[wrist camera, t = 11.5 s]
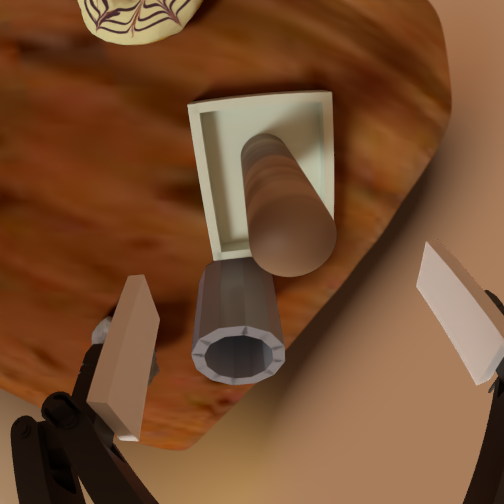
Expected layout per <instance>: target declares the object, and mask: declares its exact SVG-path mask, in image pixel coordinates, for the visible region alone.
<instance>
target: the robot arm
mask: <svg viewBox="0 0 504 504" xmlns="http://www.w3.org/2000/svg"><path fill="white" fill-rule="evenodd" d="M416 287H417V288H418V290H419V291H420V293H421V294H422V296H423V297H424V299H425V300H426V302H427V303H428V305H429V307H430V308H431V310H432V311H433V313H434V314H435V316H436V317H437V319H438V320H439V322H440V324H441V325H442V327H443V329H444V330H445V332H446V333H447V335H448V337H449V338H450V340H451V342H452V343H453V345H454V347H455V348H456V350H457V352H458V353H459V355H460V357H461V359H462V360H463V362H464V364H465V366H466V367H467V369H468V371H469V373H470V375H471V377H472V378H473V380H474V382H475V383H476V385H479V384H481V383H483V382H485V381H488V380H490V378H491V377H492V375H493V374H494V372H495V371H496V372H497V374H498V377H497V379H496V380H495V382H494V383H493V385H492V386H491V388H490V389H489V392H488V393H490V392H491V391H492V390H493V389H494V393H493V400H492V405H491V410H490V414H489V420H488V423H487V428H486V432H485V436H484V440H483V444H482V447H481V451H480V455H479V458H478V461H477V464H476V468H475V471H474V474H473V477H472V480H471V483H470V486H469V488H468V491H467V494H466V497H465V499H464V502H463V504H504V306H503V304H502V303H501V301H500V300H499V299H498V298H497V296H495V295H494V294H493V293H491V292H490V291H488V290H485V291H484V290H483V289H482V288H481V287H480V285H479V284H478V283H477V282H476V281H475V279H474V278H473V277H472V276H471V275H470V274H469V272H468V271H467V270H466V269H465V268H464V267H463V266H462V264H461V263H460V262H459V261H458V260H457V259H456V258H455V257H454V256H453V254H452V253H451V252H450V251H449V250H448V249H447V248H446V247H445V246H444V245H443V244H442V242H441V241H440V240H439V239H437V240H430V241H426V244H425V250H424V254H423V259H422V263H421V268H420V272H419V276H418V281H417V285H416ZM159 322H160V318H159V315H158V313H157V310H156V307H155V304H154V302H153V299H152V296H151V293H150V290H149V288H148V285H147V282H146V279H145V276H144V274H143V275H134V276H128V278H127V281H126V284H125V286H124V289H123V291H122V294H121V297H120V299H119V302H118V305H117V307H116V310H115V313H114V316H113V319H112V321H111V324H110V327H109V330H108V333H107V336H106V339H105V342H104V343H103V344H93V345H92V346H91V347H90V349H89V350H88V351H87V352H86V354H85V357H84V360H83V363H82V366H81V369H80V372H79V373H80V374H79V375H78V378H77V381H76V384H75V387H74V390H73V393H72V396H70V395H69V394H68V393H66V392H55V393H53V394H51V395H50V396H49V397H47V398H46V400H45V401H44V403H43V405H42V409H41V413H42V417H43V418H44V419H45V420H46V421H42V422H36V421H35V420H34V419H33V418H32V417H30V416H22V417H20V418H18V419H17V420H16V421H15V422H14V423H13V425H12V427H11V447H12V457H13V465H14V474H15V481H16V487H17V493H18V499H19V504H86V503H85V499H84V496H83V492H82V489H81V486H80V482H79V479H78V477H79V478H80V480H81V482H82V484H83V485H84V487H85V489H86V491H87V492H88V494H89V496H90V497H91V499H92V501H93V502H94V504H159V503H158V502H157V501H156V500H155V498H154V497H153V496H152V495H151V493H150V492H149V491H148V490H147V488H146V487H145V486H144V484H143V483H142V482H141V480H140V479H139V478H138V476H136V474H135V472H134V471H133V470H132V468H131V467H130V466H129V464H128V463H127V461H126V460H125V459H124V457H123V456H122V454H121V453H120V451H119V450H118V448H117V447H116V445H115V444H114V443H113V437H114V434H115V435H116V436H117V437H118V438H119V439H120V440H127V441H139V437H140V430H141V423H142V416H143V410H144V403H145V397H146V391H147V385H148V380H149V374H150V368H151V363H152V357H153V352H154V347H155V342H156V337H157V332H158V327H159Z"/></svg>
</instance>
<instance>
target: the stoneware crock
mask: <svg viewBox="0 0 504 504" xmlns="http://www.w3.org/2000/svg"><path fill="white" fill-rule="evenodd" d="M191 355H192V358H193V361H194V363H195V366H196V369H197V370H198V371H200V372H201V373H203V374H204V375H205V376H207V377H208V378H210V379H211V380H214V381H218V382H222V383H227V384H231V385H238V384H249V383H256V382H258V381H261V380H263V379H265V378H267V377H269V376H272V375H274V374H275V373H276V372H277V370H278V369H279V368H280V367H281V365H282V364H283V363H284V362H285V349H284V340H283V334H282V328H281V322H280V316H279V311H278V305H277V299H276V293H275V288H274V282H273V276H272V274H271V273H269V272H267V271H266V270H264V269H263V268H261V267H260V266H259V265H258V264H257V262H256V261H255V260H254V258H252V257H243V258H234V259H225V260H216V261H214V262H212V263H211V264H209V265H208V266H206V268H205V270H204V272H203V275H202V277H201V279H200V281H199V289H198V297H197V305H196V314H195V323H194V332H193V341H192V351H191Z"/></svg>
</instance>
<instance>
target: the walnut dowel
mask: <svg viewBox="0 0 504 504" xmlns="http://www.w3.org/2000/svg"><path fill="white" fill-rule="evenodd" d="M241 168H242V178H243V188H244V197H245V207H246V217H247V227H248V237H249V246H250V251H251V254H252V256H253V258H254V260H255V261H256V262H257V264H258V265H259V266H260V267H261V268H263V269H264V270H266V271H267V272H269V273H271V274H274V275H277V276H283V277H296V276H301V275H305V274H307V273H310V272H312V271H314V270H316V269H317V268H319V267H320V266H321V265H322V264H324V263H325V261H326V260H327V259H328V258H329V257H330V255H331V254H332V252H333V250H334V247H335V244H336V240H337V229H336V225H335V222H334V220H333V218H332V216H331V215H330V213H329V211H328V210H327V208H326V207H325V205H324V203H323V202H322V200H321V198H320V197H319V195H318V194H317V192H316V191H315V189H314V187H313V186H312V184H311V183H310V181H309V180H308V178H307V177H306V175H305V174H304V172H303V170H302V169H301V167H300V166H299V164H298V163H297V161H296V160H295V158H294V157H293V155H292V154H291V152H290V151H289V149H288V148H287V147H286V145H285V144H284V142H283V141H282V140H281V139H279V138H278V137H276V136H274V135H271V134H259V135H256V136H253V137H252V138H250V139H249V140H248V141H247V142H246V143H245V144H244V146H243V148H242V151H241Z"/></svg>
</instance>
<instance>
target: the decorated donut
mask: <svg viewBox="0 0 504 504" xmlns="http://www.w3.org/2000/svg"><path fill="white" fill-rule="evenodd" d="M202 2H203V0H78V3H79V6H80V8H81V10H82V16H83V19H84V22H85V24H86V26H87V28H88V29H89V30H90V31H91V33H92V34H94V35H96V36H97V37H99V38H101V39H103V40H104V41H107V42H113V43H116V44H123V45H142V44H150V43H153V42H157V41H160V40H163V39H166V38H168V37H170V36H171V35H173V34H177V33H179V32H181V31H182V30H183V28H184V27H185V25H186V24H187V22H188V21H189V20H190V19H191V18H192V16H193V15H194V14H195V13H196V11H197V10H198V8H199V7H200V6H201V4H202Z"/></svg>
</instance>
